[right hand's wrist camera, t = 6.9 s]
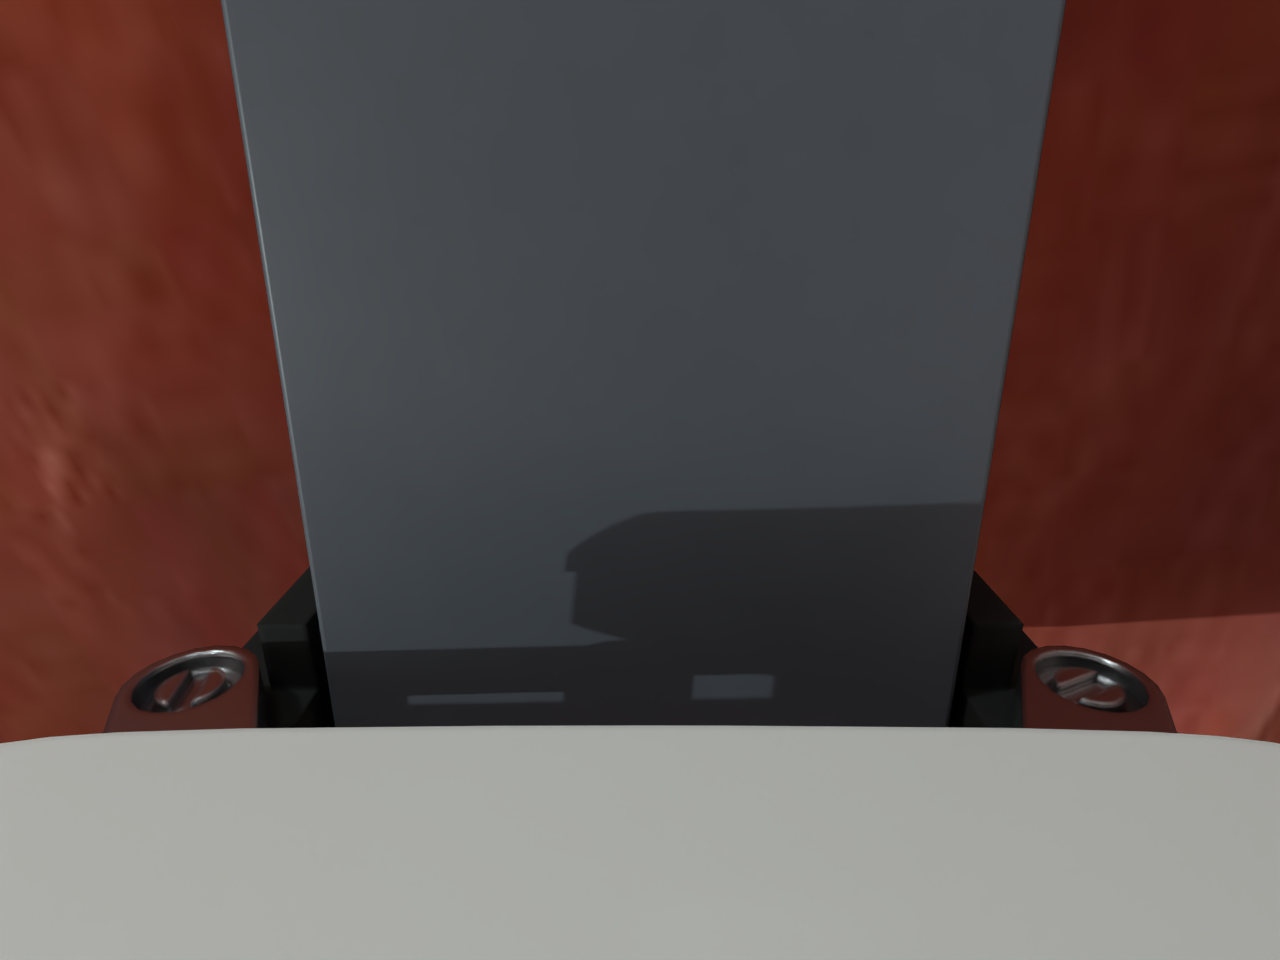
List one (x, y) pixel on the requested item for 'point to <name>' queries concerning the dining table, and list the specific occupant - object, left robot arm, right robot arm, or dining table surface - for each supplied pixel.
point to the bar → (642, 343)
